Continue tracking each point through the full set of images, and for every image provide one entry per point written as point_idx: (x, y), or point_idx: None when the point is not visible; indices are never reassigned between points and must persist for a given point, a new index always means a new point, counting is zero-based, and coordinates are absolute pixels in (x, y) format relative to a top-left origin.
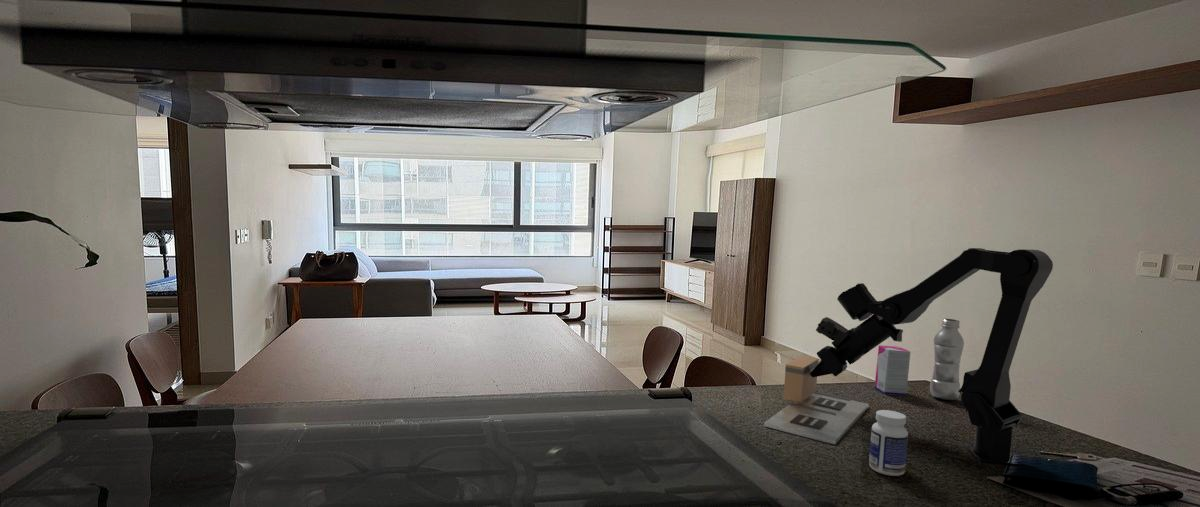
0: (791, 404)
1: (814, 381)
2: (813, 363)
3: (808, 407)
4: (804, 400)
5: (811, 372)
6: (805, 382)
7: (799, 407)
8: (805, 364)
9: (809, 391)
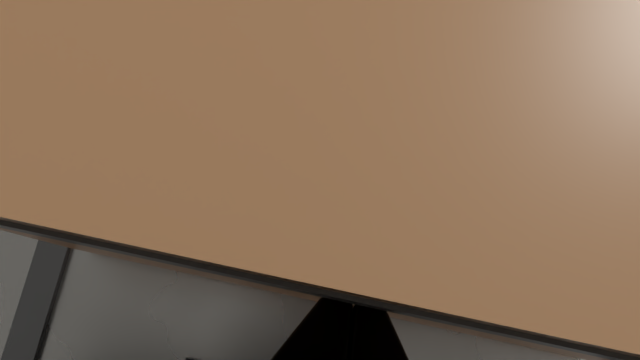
0: None
1: (573, 354)
2: (572, 342)
3: (14, 329)
4: None
5: (303, 321)
6: (116, 253)
7: (5, 246)
8: (104, 171)
9: None
